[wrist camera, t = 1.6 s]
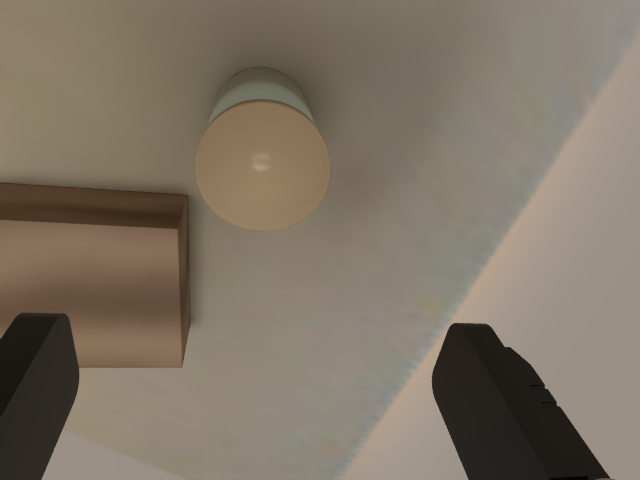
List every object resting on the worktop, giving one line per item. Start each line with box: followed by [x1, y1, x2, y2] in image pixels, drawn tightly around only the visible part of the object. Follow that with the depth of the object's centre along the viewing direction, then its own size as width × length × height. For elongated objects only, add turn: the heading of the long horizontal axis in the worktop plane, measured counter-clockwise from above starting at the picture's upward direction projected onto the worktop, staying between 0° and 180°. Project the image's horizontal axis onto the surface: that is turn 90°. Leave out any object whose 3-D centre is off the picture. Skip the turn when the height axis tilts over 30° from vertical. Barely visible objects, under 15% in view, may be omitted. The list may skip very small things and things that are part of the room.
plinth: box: [0, 183, 190, 368], centre depth 26 cm, size 10×10×4 cm
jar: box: [194, 67, 331, 231], centre depth 21 cm, size 5×5×8 cm
